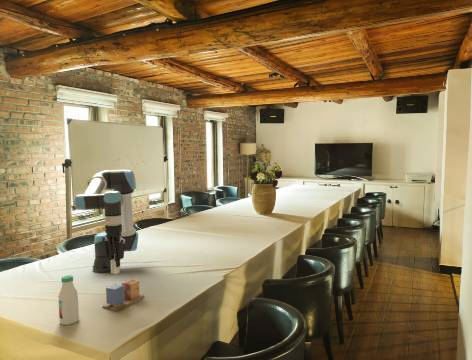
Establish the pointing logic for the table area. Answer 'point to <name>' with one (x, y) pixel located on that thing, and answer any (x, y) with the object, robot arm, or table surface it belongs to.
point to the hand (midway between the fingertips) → (115, 272)
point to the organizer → (127, 295)
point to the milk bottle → (68, 302)
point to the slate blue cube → (115, 294)
